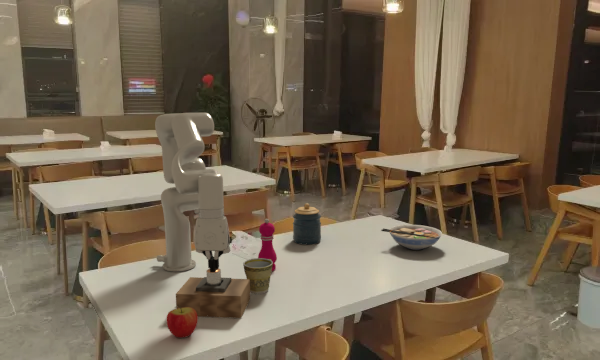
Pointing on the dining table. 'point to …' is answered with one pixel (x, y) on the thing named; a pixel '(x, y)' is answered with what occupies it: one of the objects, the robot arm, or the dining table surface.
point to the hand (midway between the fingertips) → (213, 270)
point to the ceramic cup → (258, 274)
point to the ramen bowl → (414, 236)
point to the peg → (214, 278)
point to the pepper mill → (267, 242)
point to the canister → (306, 225)
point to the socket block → (215, 297)
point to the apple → (182, 321)
